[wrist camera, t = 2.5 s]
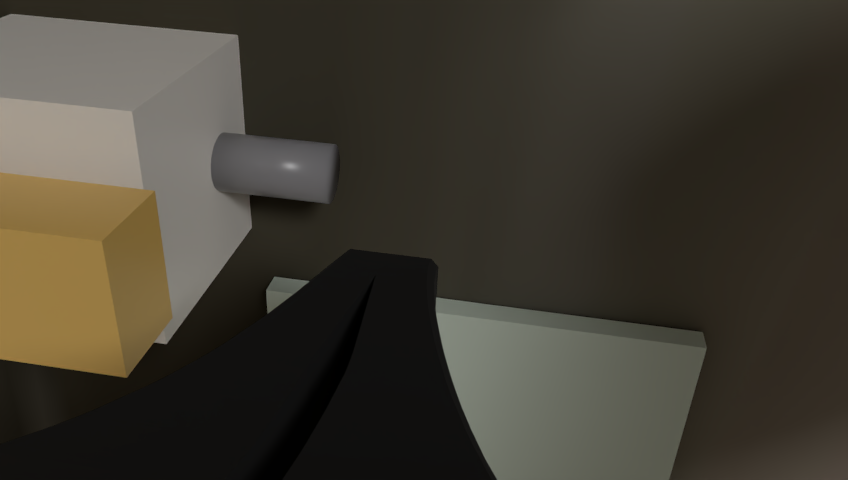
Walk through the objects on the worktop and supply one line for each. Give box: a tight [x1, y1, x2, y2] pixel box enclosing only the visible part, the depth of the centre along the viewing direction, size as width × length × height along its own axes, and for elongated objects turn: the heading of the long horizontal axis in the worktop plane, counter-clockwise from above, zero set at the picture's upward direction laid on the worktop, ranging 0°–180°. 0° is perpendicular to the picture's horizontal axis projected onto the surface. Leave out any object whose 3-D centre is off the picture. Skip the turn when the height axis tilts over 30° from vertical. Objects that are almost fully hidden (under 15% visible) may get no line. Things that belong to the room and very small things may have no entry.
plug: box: [0, 14, 340, 344], centre depth 15 cm, size 7×4×5 cm, turn 87°
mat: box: [266, 277, 707, 480], centre depth 20 cm, size 10×8×1 cm
